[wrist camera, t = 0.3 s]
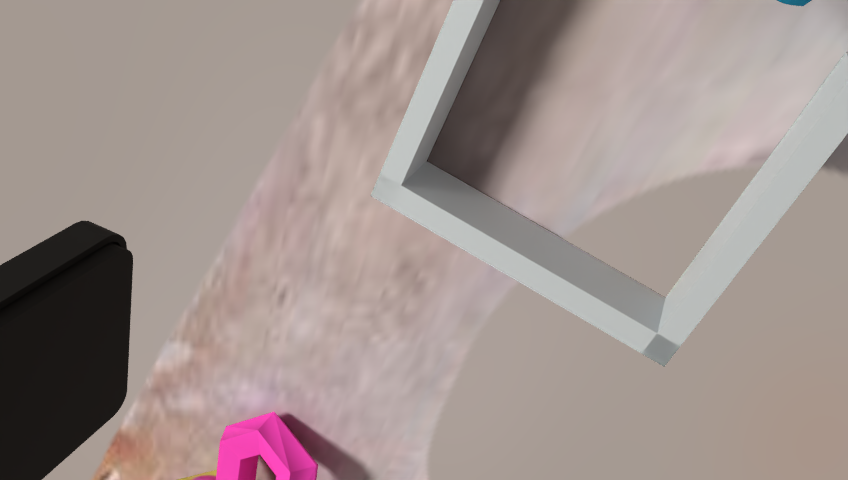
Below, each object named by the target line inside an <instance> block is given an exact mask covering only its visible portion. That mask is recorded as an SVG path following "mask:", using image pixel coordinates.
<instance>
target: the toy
mask: <svg viewBox="0 0 848 480" xmlns="http://www.w3.org/2000/svg"><path fill="white" fill-rule="evenodd" d="M258 455H261V456H262V458H263V459H264V460H265V462H266V463H267V464H268V466H269V467H270V468H271V470H272V471H273V472H274V474H275V475H276V480H316V477H317V469H318V464H317V463H316V462H315V461H314V459H313V458H312V457H311V455H310V454H309V453H308V452H307V450H306V449H305V448H304V447H303V445H302V444H301V443H300V442H299V440H298V439H297V438H296V436H295V435H294V434H293V433H292V431H291V430H290V429H289V428H288V426H287V425H286V424H285V423H284V422H283V421H282V420H281V419H280V418H279V416H278V415H277V414H276V413H275V412H272V413H269V414H265V415H262V416H259V417H255V418H252V419H249V420H246V421H242V422H239V423H236V424H233V425H229V426H226V428H225V431H224V433H223V436H222V438H221V440H220V447H219V456H218V465H217V470H215V471H210V472H206V473H202V474H198V475H194V476H190V477H186V478H182V479H178V480H255V479H256V470H257V462H258Z"/></svg>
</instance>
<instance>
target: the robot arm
mask: <svg viewBox="0 0 848 480" xmlns="http://www.w3.org/2000/svg"><path fill="white" fill-rule="evenodd" d="M132 270H133V256H132V253H131V252H130V251H129V250H127V247H126V241H125V239H124V238H123V237H122V236H120V235H119V234H117V233H114V232H112V231H110V230H107V229H105V228H103V227H101V226H98V225H96V224H94V223H92V222H89V221H80V222H78V223H75V224H73V225H72V226H70V227H68V228H66V229H65V230H62V231H61V232H59V233H57V234H55V235H54V236H52V237H50V238H49V239H46V240H45V241H43V242H41V243H39V244H37V245H36V246H34V247H32V248H31V249H29V250H27V251H25V252H23V253H21V254H20V255H18V256H16V257H14V258H12V259H11V260H9V261H7V262H5V263H3V264H2V265H0V480H42V479H43V478H44V477H45V476H46V475H47V474H48V473H50V472H51V471H52V470H53V469H54V468H55V467H56V466H58V465H59V464H60V463H61V462H62V461H63V460H64V459H65V458H67V457H68V456H69V455H70V454H71V453H72V452H73V451H75V449H77V448H78V447H79V446H80V445H81V444H82V443H84V442H85V441H86V440H87V439H88V438H89V437H90V436H91V435H93V434H94V433H95V432H96V431H97V430H98V429H99V428H100V427H102V426H103V425H104V424H105V423H106V422H107V421H108V420H110V419H111V418H112V417H113V416H114V415H115V414H116V413H117V412H118V410H119V409H120V407H121V406H122V404H123V402H124V399H125V397H126V393H127V377H128V357H129V335H130V314H131V292H132V291H131V290H132Z"/></svg>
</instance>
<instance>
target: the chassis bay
mask: <svg viewBox="0 0 848 480" xmlns="http://www.w3.org/2000/svg"><path fill="white" fill-rule="evenodd" d="M499 2H500V0H453V3H452V5H451V7H450V10H449V12H448V15H447V17H446V19H445V22H444V24H443V26H442V29H441V31H440V33H439V36H438V38H437V40H436V43H435V45H434V48H433V50H432V52H431V55H430V57H429V59H428V62H427V64H426V66H425V69H424V71H423V73H422V76H421V78H420V81H419V83H418V85H417V88H416V90H415V92H414V95H413V97H412V99H411V102H410V104H409V106H408V109H407V111H406V114H405V116H404V118H403V121H402V123H401V125H400V128H399V130H398V132H397V135H396V137H395V139H394V142H393V144H392V147H391V149H390V151H389V154H388V156H387V158H386V161H385V163H384V165H383V168H382V170H381V172H380V175H379V177H378V180H377V182H376V184H375V187H374V189H373V191H372V194H371V196H372V197H373V198H375V199H377V200H378V201H380V202H382V203H384V204H385V205H387V206H389V207H391V208H392V209H394V210H396V211H397V212H399V213H401V214H403V215H404V216H406V217H408V218H409V219H411V220H413V221H415V222H416V223H418V224H420V225H421V226H423V227H425V228H427V229H428V230H430V231H432V232H433V233H435V234H437V235H439V236H440V237H442V238H444V239H446V240H447V241H449V242H451V243H452V244H454V245H456V246H458V247H459V248H461V249H463V250H464V251H466V252H468V253H470V254H471V255H473V256H475V257H476V258H478V259H480V260H482V261H483V262H485V263H487V264H488V265H490V266H492V267H494V268H495V269H497V270H499V271H500V272H502V273H504V274H506V275H507V276H509V277H511V278H513V279H514V280H516V281H518V282H519V283H521V284H523V285H525V286H526V287H528V288H530V289H532V290H533V291H535V292H537V293H538V294H540V295H542V296H543V297H545V298H547V299H549V300H550V301H552V302H554V303H555V304H557V305H559V306H561V307H562V308H564V309H566V310H568V311H570V312H571V313H573V314H575V315H576V316H578V317H580V318H581V319H583V320H585V321H587V322H588V323H590V324H592V325H593V326H595V327H597V328H598V329H600V330H602V331H604V332H605V333H607V334H609V335H610V336H612V337H614V338H616V339H618V340H619V341H621V342H623V343H624V344H626V345H628V346H630V347H631V348H633V349H635V350H636V351H638V352H640V353H642V354H643V355H645V356H647V357H648V358H650V359H652V360H653V361H655V362H657V363H659V364H660V365H662V366H665V365H666V364H667V363H668V362H669V360H670V359H671V358H672V356H673V355H674V354H675V353H676V351H677V350H678V349H679V348H680V346H681V345H682V344H683V342H684V341H685V340H686V338H687V337H688V336H689V335H690V334H691V332H692V331H693V330H694V328H695V327H696V326H697V325H698V323H699V322H700V321H701V319H702V318H703V317H704V316H705V314H706V313H707V312H708V311H709V309H710V308H711V307H712V305H713V304H714V303H715V301H716V300H717V299H718V298H719V297H720V295H721V294H722V292H724V290H725V289H726V288H727V286H728V285H729V284H730V283H731V281H732V280H733V279H734V277H735V276H736V275H737V274H738V272H739V271H740V270H741V268H742V267H743V266H744V265H745V264H746V262H747V261H748V260H749V258H750V257H751V256H752V255H753V253H754V252H755V251H756V250H757V248H758V247H759V246H760V244H761V243H762V242H763V241H764V239H765V238H766V237H767V236H768V234H769V233H770V232H771V230H772V229H773V228H774V226H775V225H776V224H777V223H778V221H779V220H780V219H781V217H782V216H783V215H784V214H785V213H786V211H787V210H788V209H789V208H790V206H791V205H792V204H793V202H794V201H795V200H796V199H797V197H798V196H799V195H800V194H801V192H802V191H803V190H804V188H805V187H806V186H807V185H808V183H809V182H810V181H811V180H812V178H813V177H814V176H815V174H816V173H817V172H818V171H819V169H820V168H821V167H822V166H823V164H824V163H825V162H826V160H827V159H828V158H829V157H830V155H831V154H832V153H833V152H834V150H835V149H836V148H837V146H838V145H839V144H840V143H841V141H842V140H843V139H844V138H845V136H846V135H847V134H848V53H847V52H846V53H845V54H844V56H843V57H842V59H841V60H840V61H839V63H838V64H837V65H836V67H835V68H834V69H833V71H832V72H831V73H830V75H829V76H828V78H827V79H826V80H825V82H824V83H823V84H822V86H821V87H820V88H819V90H818V91H817V92H816V94H815V95H814V97H813V98H812V99H811V101H810V102H809V103H808V105H807V106H806V107H805V109H804V110H803V111H802V113H801V114H800V116H799V117H798V118H797V120H796V121H795V122H794V124H793V125H792V126H791V128H790V129H789V130H788V132H787V133H786V135H785V136H784V137H783V139H782V140H781V141H780V143H779V144H778V145H777V147H776V148H775V149H774V151H773V152H772V154H771V155H770V156H769V158H768V159H767V160H766V162H765V163H764V164H763V166H762V167H761V168H760V170H759V171H758V173H757V174H756V176H755V177H754V178H753V179H752V181H751V182H750V184H749V185H748V186H747V187H746V189H745V190H744V192H743V193H742V194H741V196H740V197H739V198H738V200H737V201H736V202H735V204H734V205H733V206H732V208H731V209H730V211H729V212H728V213H727V215H726V216H725V218H724V219H723V220H722V221H721V223H720V224H719V226H718V227H717V228H716V230H715V231H714V233H713V234H712V235H711V236H710V238H709V239H708V240H707V242H706V243H705V245H704V246H703V247H702V249H701V250H700V251H699V253H698V254H697V256H696V257H695V258H694V259H693V261H692V262H691V264H690V265H689V266H688V268H687V269H686V270H685V272H684V273H683V275H682V276H681V277H680V279H679V280H678V281H677V283H676V284H675V285H674V287H673V288H672V289H671V291H670V292H669V293H668V295H667V296H666V297H664V296H662V295H660V294H659V293H657V292H655V291H653V290H652V289H650V288H648V287H646V286H644V285H643V284H641V283H639V282H637V281H636V280H634V279H632V278H631V277H629V276H627V275H625V274H624V273H622V272H620V271H618V270H617V269H615V268H613V267H611V266H609V265H608V264H606V263H604V262H603V261H601V260H599V259H597V258H595V257H594V256H592V255H590V254H588V253H587V252H585V251H583V250H581V249H580V248H578V247H576V246H574V245H573V244H571V243H569V242H567V241H566V240H564V239H562V238H560V237H559V236H557V235H555V234H553V233H552V232H550V231H548V230H546V229H545V228H543V227H541V226H539V225H538V224H536V223H534V222H532V221H531V220H529V219H527V218H525V217H524V216H522V215H520V214H518V213H517V212H515V211H513V210H511V209H510V208H508V207H506V206H504V205H503V204H501V203H499V202H497V201H496V200H494V199H492V198H490V197H489V196H487V195H485V194H483V193H482V192H480V191H478V190H476V189H475V188H473V187H471V186H469V185H468V184H466V183H464V182H462V181H461V180H459V179H457V178H455V177H454V176H452V175H450V174H448V173H447V172H445V171H443V170H441V169H440V168H438V167H436V166H434V165H433V164H431V163H429V162H427V159H428V157H429V155H430V153H431V151H432V148H433V146H434V144H435V142H436V140H437V137H438V135H439V133H440V131H441V129H442V127H443V124H444V122H445V120H446V118H447V116H448V113H449V111H450V109H451V107H452V105H453V103H454V100H455V98H456V96H457V94H458V92H459V89H460V87H461V85H462V83H463V81H464V79H465V76H466V74H467V72H468V70H469V68H470V65H471V63H472V61H473V59H474V57H475V55H476V52H477V50H478V48H479V46H480V44H481V41H482V39H483V37H484V35H485V33H486V31H487V28H488V26H489V24H490V22H491V20H492V17H493V15H494V13H495V11H496V9H497V6H498V4H499Z"/></svg>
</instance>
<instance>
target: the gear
mask: <svg viewBox="0 0 848 480" xmlns="http://www.w3.org/2000/svg"><path fill="white" fill-rule="evenodd" d="M777 1H779V2H782V3H785V4H789V5H796V6H804V5H805V4H807V3H808V2H810V1H811V0H777Z"/></svg>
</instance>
